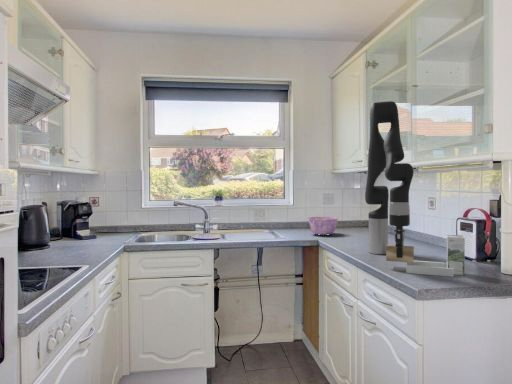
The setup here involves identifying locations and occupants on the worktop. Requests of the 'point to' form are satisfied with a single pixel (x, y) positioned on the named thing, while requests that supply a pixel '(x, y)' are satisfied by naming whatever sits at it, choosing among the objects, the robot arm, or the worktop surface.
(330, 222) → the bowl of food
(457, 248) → the syrup box
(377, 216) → the robot arm
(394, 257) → the block
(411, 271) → the channel
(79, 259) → the worktop surface
